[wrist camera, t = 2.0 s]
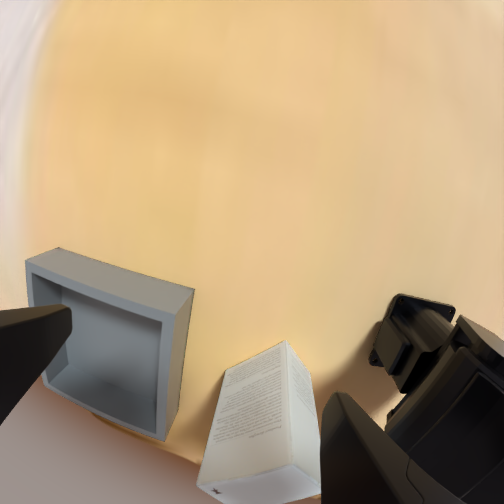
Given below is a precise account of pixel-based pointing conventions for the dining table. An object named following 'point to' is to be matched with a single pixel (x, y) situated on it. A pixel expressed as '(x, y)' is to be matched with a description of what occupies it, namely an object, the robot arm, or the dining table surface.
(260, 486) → the skincare box
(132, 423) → the box
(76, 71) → the dining table surface
